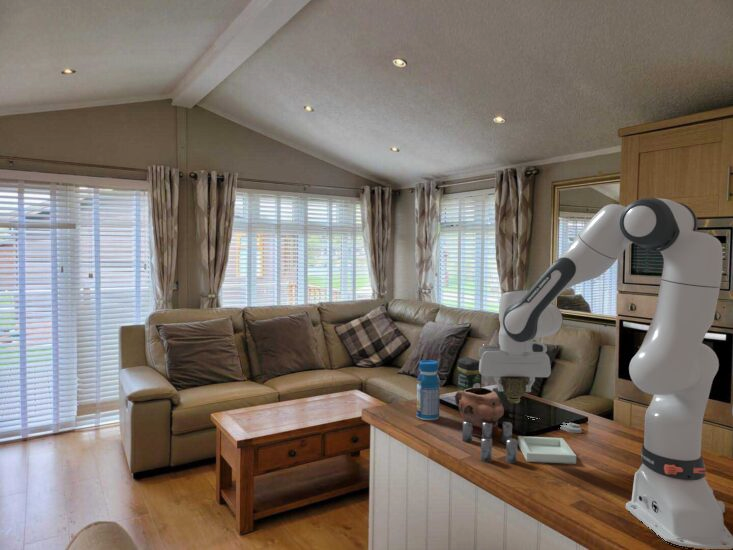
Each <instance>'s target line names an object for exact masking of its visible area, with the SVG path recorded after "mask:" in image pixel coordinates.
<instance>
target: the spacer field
mask: <svg viewBox="0 0 733 550" xmlns="http://www.w3.org/2000/svg"><path fill="white" fill-rule="evenodd" d="M472 430H473V422H472V421H469V420H464V421H463V420H462V441H463V442H464V443H467V444H468V443H472V442H473V434H472ZM512 436H513V423H512V422H508V421H503V422H501V444H503V445H506V446H505V447H506V448H505V461H506V463H508V464H517V463H518V439H516V438H513V437H512ZM480 440H481V441H480V460H481V461H482V462H485V463H490V462H492V459H493V458H492V457H493V436H492V422H489V421H483V422H482V436H481V439H480Z"/></svg>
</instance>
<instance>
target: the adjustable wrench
mask: <svg viewBox="0 0 733 550" xmlns="http://www.w3.org/2000/svg"><path fill="white" fill-rule="evenodd" d="M526 416H527V417H530V418H536V419H538V418H537V417H533V416H528V415H526ZM528 419H529V418H528ZM532 420H535V419H532ZM562 424H563V425H560V426H561V427H560V430H562V431H566V432H567V433H573V434H581V433H583V432H582V431H583V429H582V428H581V424H577V423H574V422H569V423H565V422H563V423H562ZM566 424H567V425H566Z"/></svg>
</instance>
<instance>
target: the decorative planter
mask: <svg viewBox="0 0 733 550" xmlns="http://www.w3.org/2000/svg"><path fill="white" fill-rule="evenodd" d="M460 396H462V398H461V400H460V402H459V398H460ZM454 398H455V404H456V405H457V406H458V411H459V413H460V415H461V417H462V422H463V421H464V420H469V421H472V422H473V430H472V436H477V437H482V422H483V421H489V422H492V437H493V436H496V435H497V433H498V430H499V419H501V418H502V417H503V416H504V413H505V408H504V406H503V404H502V403H501V402H502V401H501V399H500V397H499V395H498V392H495V391H493V390H492V389H488V388H485V387H482V388H469V389H465V390H464V391H458V390H457V391H456V393H455V396H454Z"/></svg>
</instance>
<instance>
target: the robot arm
mask: <svg viewBox="0 0 733 550" xmlns="http://www.w3.org/2000/svg"><path fill="white" fill-rule="evenodd" d="M695 213H696V212H694V210H693V209H691V207H689V206H687V205H686V204H684V203H681V202H677V201H676V202H675V201H674V200H671V199H668V198H659V197H645V198H640V199H637V200H635V201H633V202H631V203H630V204H628V205H627V206H624V205H622V204H618V203H616V204H615V203H610V204H607V205H605V206H603V207H602V208H600V210H599V211H597V212H596V214H594V216H592V218H590V219H589V220H588V222H587V223H586V224H585V225H584V226H583V228H582V229H581V230H580V231H579V233H578V234H577V235H576V237H575V238H574V239H573V241H572V242H571V243H570V244H569V246H568V247H567V248H566V249H565V251H564V252H563V253H562V254H561V255H560V256H559V257H558V258H557V259H556V260H555V261H554V262H553V263H552V265H550V266H549V267H548V268H547V270H545V272H544V273H543V274H542V275H541V276H540V277H539V279H538V280H536V282H535V283H534V284H533V286H531V288H530V289H529V290H528V289H522V288H520V289H511V290H506V291H505V292H503V293H502V294H501V295H500V299H499V307H498V321H499V324H500V325H499V326H500V327H499V332H498V343H497V344H496V343H493V344H489V343H488V344H487V343H484V344H483V345H480V346H479V348H478V354H477V355H478V358H479V361H480V362H479V372H480V374H481V375H482V377H493V380H494V382H495V383H496V385H497V392H503V391H504V390H503V386H502V383H501V384H500V381H501V376H503V377H527V379H528V382H527V383H526V388H525V393H531V392H532V386H533V385H534V383H535V382H536V378H549V376H551V373H552V368H551V367H552V365H551V360H550V357H549V355H548V354H547V351H548V347H547V345H546V344H545V343H543V342H541V341H537V340H535V339H540V338H541V339H542V338H544V337H545V338H546V337H550V336H554V335H555V334H558V333H559V332H560V330H561V328H562V326H563V321H564V320H563V319H564V318H563V314H562V312H561V310H560V308H559V307H558V306H557V305H555V304H553V303H554V302H555V300H556V299H557V298H558V297H559V296H560V295H561V294H562V293H563V292H564V291H566V290H568V289H569V288H571V287H573V286H576V285H578V284H582V283H584V282H588V281H591V280H595V279H597V278H599V277H601V276H602V275H603V274H604V273H605V272H607V270H609V269H610V268H611V267H612V266H614V264H615V263H616V261H617V260H618V259H619V258H620V256H621V255H622V254H623V252H624V251H625V250H626V249H627V248H628V247H629V246H630V245H632V244H635V245H637V246H639V247H642V248H645V249H647V250H649V251H650V252H653V253H660V254H661V255H662V258H663V266H662V272H661V279H660V283H659V290H658V295H657V299H656V306H655V310H654V314H653V317H652V320H651V322H650V325H649V327H648V330H647V332H646V334H645V336H644V338H643V341H642V342H641V345H640V347H639V349H638V351H637V352H636V353H635V355H634V356H633V357H632V358H631V360H630V362H629V366H628V371H629V372H628V373H629V376H630V379H631V381H632V383H633V384H634V385H635V386H636V387H637V388H638V389H639V390H640V391H641V392H643V393H646V394H648V395H653V396H652V399H651V400H650V404H649V405H648V407H647V408H646V411H645V415H644V434H643V437H644V438H643V439H644V440H643V444H642V445H641V450H640V455H641V457H640V461H641V465H640V466H639V469H637V471H635V473H634V478H633V485H632V494H631V500H630V501H629V500H628V501H627V502H626V503H625V509H626V510H627V511H630V513H631V514H632V515H633V516H634V517H635V518H636V519H638V520H639V521H640V522H641V521H642V522H643V524H644V525H645V526H646V527H647V528H648V527H649V528H648V529H649V530H651V529H652V530H653V531H654V532H655V533H656V534H655V533H654V532H653V531H652V530H651V531H652V532H653V533H654V534H655V535H657V536H658V535H659V536H660V537H661V538H663V539H664V540H665V541H668V542H671V543H673V544H676V545H679V546H685V547H686V546H687V547H694V548H705V549H732V548H733V534H731V532H730V531H729V529H728V528H727V526H726V525H725V524H724V514H723V513H725V512H726V505H725V504H724V502H723V501H720V500H717V499H716V496H715V495H714V489H713V488H712V487H710V486H709V483H708V481H707V479H706V478H705V476H706V474H707V473H706V470H707V468H705V466H706V465H705V462H704V458H703V456H702V454H701V452H702V451H701V450H702V433H703V431H702V430H703V422H704V417H705V413H706V408H707V404H708V401H709V396H710V393H711V389H712V385H713V381H714V378H715V376H716V375H717V373H718V371H719V367H720V363H719V362H720V361H719V358H718V356H717V354H716V351H714V350H713V349H712V348H711V347H710V346H709V345H707V344H704V343H703V341H704V338H705V337H706V334H707V332H708V331H709V329H710V328H711V327H712V325H713V323H714V321H715V316H716V315H715V314H716V310H717V304H718V299H719V295H720V294H719V293H720V289H721V283H722V279H723V278H722V276H723V266H724V265H723V263H724V261H723V245H722V243H721V241H720V240H719V238H717V237H715V236H713V235H711V234H709V233H706V232H703V231H702V232H701V231H697V230H698V224H699V223H698V221H699V220H698V217H697V215H696V214H695ZM642 522H641V523H642ZM659 536H658V537H659ZM660 537H659V538H660ZM661 538H660V539H661ZM663 539H662V540H663ZM664 540H663V541H664ZM665 541H664V542H665ZM723 544H725V545H723ZM679 546H678V547H679Z"/></svg>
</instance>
